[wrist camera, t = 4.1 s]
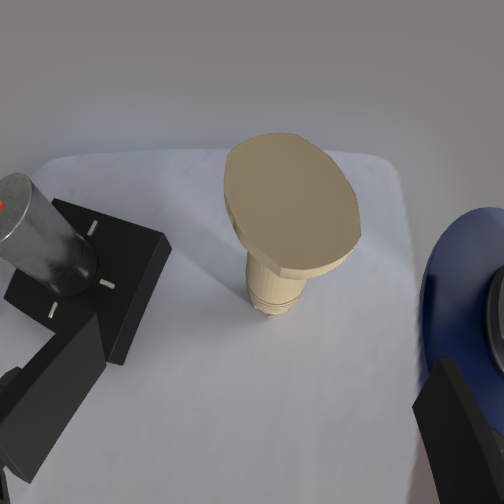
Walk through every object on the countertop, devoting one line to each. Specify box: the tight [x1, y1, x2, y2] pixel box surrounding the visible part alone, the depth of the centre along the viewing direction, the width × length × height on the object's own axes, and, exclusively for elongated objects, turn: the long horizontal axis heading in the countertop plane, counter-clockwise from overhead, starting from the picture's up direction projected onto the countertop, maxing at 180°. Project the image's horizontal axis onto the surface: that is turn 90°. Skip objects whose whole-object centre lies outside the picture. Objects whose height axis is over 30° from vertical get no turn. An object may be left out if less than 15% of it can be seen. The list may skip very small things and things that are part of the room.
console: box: [4, 198, 172, 365], centre depth 25 cm, size 13×11×3 cm
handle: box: [224, 133, 361, 317], centre depth 19 cm, size 5×6×15 cm
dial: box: [0, 173, 97, 297], centre depth 19 cm, size 5×5×10 cm
